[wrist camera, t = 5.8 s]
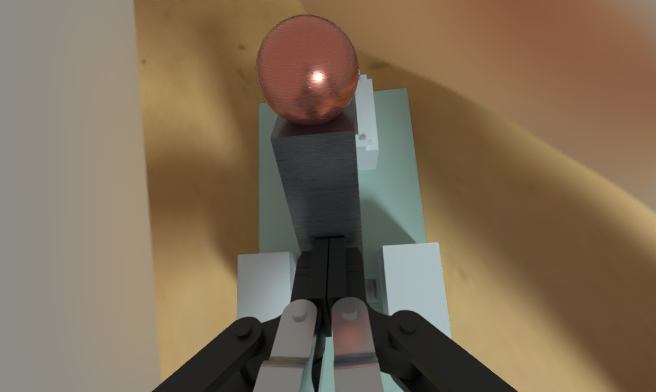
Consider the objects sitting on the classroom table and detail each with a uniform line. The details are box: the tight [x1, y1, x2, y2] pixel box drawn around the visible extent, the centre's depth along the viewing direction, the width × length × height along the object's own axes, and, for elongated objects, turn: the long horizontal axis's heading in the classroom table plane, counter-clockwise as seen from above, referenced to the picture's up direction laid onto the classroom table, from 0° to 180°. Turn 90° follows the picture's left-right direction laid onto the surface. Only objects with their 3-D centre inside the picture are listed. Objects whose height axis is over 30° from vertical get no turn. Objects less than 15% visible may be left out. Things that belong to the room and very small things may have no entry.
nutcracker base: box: [237, 69, 451, 392], centre depth 21 cm, size 12×26×7 cm, turn 3°
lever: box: [256, 15, 378, 302], centre depth 15 cm, size 4×4×16 cm
